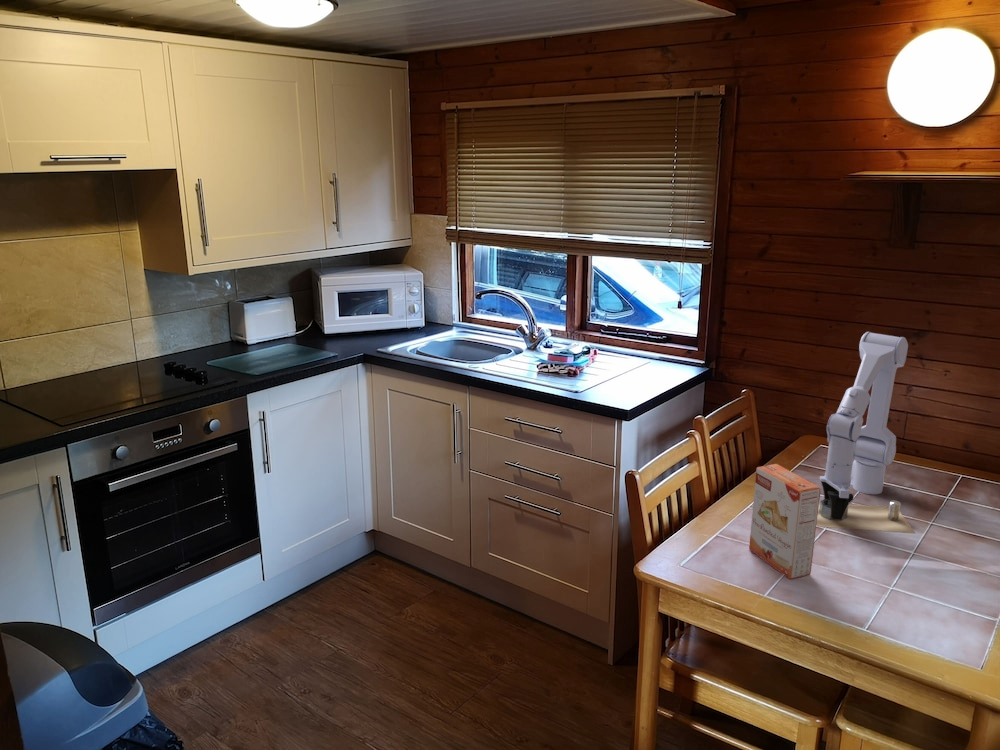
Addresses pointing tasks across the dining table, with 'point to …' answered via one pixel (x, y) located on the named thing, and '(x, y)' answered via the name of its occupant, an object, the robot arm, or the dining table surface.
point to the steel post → (894, 510)
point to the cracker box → (784, 520)
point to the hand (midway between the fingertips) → (833, 512)
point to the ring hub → (829, 510)
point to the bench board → (867, 520)
